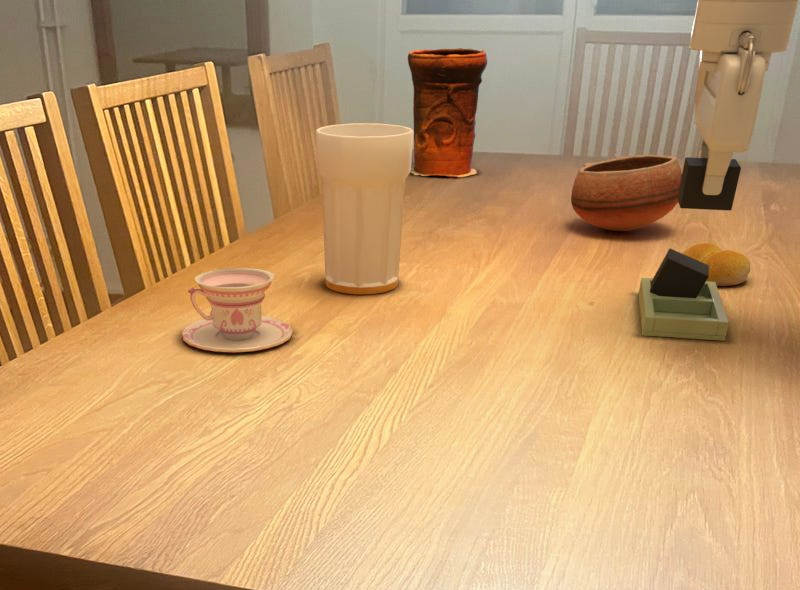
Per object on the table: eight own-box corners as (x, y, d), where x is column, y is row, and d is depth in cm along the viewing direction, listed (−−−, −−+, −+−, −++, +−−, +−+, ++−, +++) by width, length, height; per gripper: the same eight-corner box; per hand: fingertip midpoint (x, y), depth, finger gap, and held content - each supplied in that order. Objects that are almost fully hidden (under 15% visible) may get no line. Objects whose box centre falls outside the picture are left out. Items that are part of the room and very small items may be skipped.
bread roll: (721, 291, 117) (728, 257, 115) (662, 275, 123) (668, 243, 121) (762, 280, 121) (771, 247, 119) (703, 265, 127) (710, 233, 125)
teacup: (274, 315, 111) (273, 259, 107) (307, 347, 101) (306, 287, 98) (172, 326, 108) (166, 269, 104) (195, 360, 98) (190, 298, 95)
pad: (690, 297, 114) (709, 265, 111) (689, 309, 110) (708, 276, 107) (651, 280, 114) (669, 247, 111) (649, 291, 110) (667, 258, 108)
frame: (711, 298, 115) (715, 281, 114) (724, 341, 102) (729, 322, 101) (638, 294, 117) (641, 277, 115) (642, 335, 104) (645, 316, 103)
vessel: (400, 178, 179) (405, 53, 168) (405, 165, 191) (410, 47, 179) (478, 179, 178) (488, 53, 166) (478, 166, 189) (488, 47, 178)
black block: (726, 200, 101) (735, 159, 99) (731, 210, 97) (741, 167, 95) (677, 198, 102) (685, 157, 100) (680, 208, 98) (688, 165, 96)
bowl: (570, 215, 153) (580, 145, 147) (673, 221, 149) (687, 149, 143) (563, 238, 140) (573, 162, 135) (675, 244, 137) (690, 167, 131)
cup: (420, 279, 123) (429, 126, 113) (382, 302, 115) (387, 139, 105) (342, 268, 127) (344, 120, 117) (300, 289, 119) (297, 132, 109)
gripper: (793, 36, 82) (752, 210, 90) (763, 23, 98) (730, 171, 106) (716, 35, 83) (682, 207, 91) (698, 22, 99) (670, 169, 108)
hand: (707, 187), depth 99 cm, fingers closed on black block, 5 cm apart
